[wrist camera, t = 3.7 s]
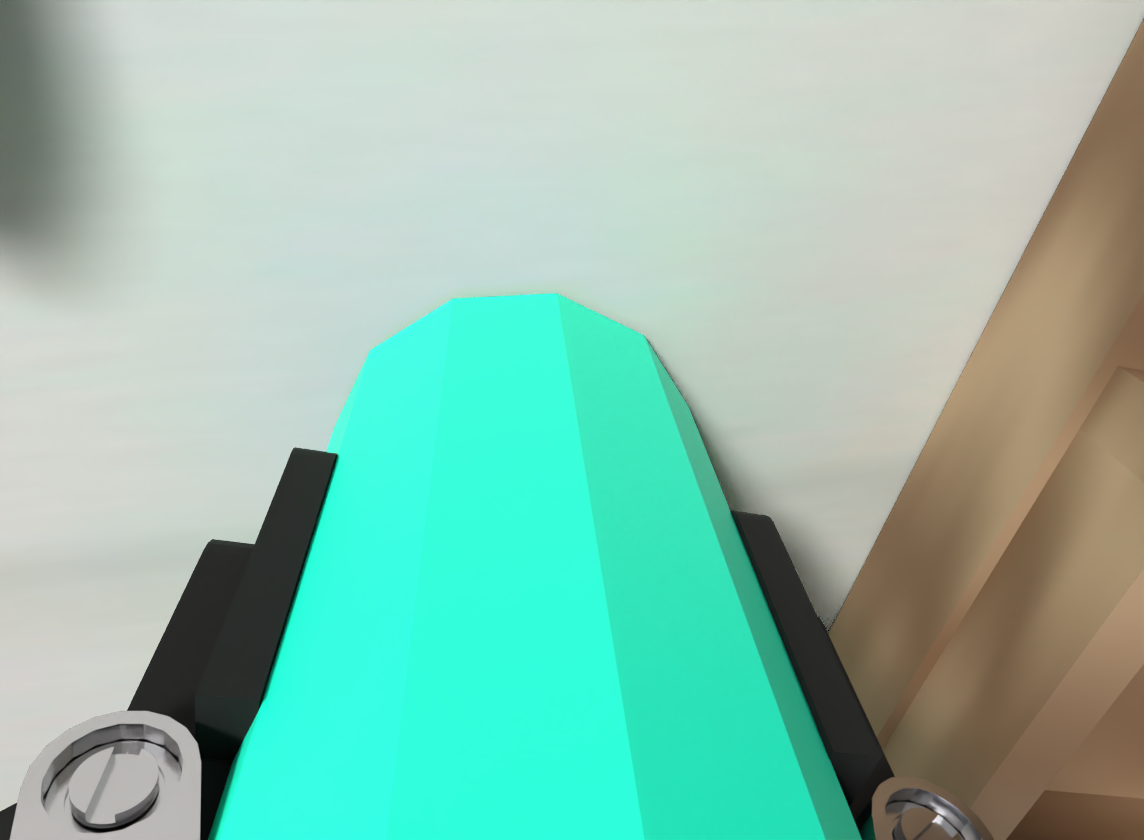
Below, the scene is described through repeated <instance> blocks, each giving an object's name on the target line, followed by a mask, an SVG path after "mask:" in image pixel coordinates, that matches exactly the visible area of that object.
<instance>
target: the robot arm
mask: <svg viewBox="0 0 1144 840" xmlns="http://www.w3.org/2000/svg"><path fill="white" fill-rule="evenodd" d="M336 458H337V454H336V453H329V452H322V451H316V450H309V449H302V448H293V450H292V452H291V455H290V457H289V460H288V462H287V465H286V467H285V470H284V472H283V475H282V477H281V480H280V482H279V485H278V487H277V490H276V492H275V495H274V497H273V500H272V502H271V505H270V507H269V510H268V512H267V515H266V517H265V520H264V522H263V525H262V528H261V530H260V533H259V535H258V538H257V540H256V543H255V544H247V543H239V542H230V541H222V540H214V539H212V540H211V541H210V542H208V544H207V545H206V547H205V549H204V551H203V552H202V555H201V557H200V559H199V561H198V563H197V565H196V567H195V569H194V571H193V573H192V576H191V578H190V580H189V582H188V584H187V586H186V588H185V590H184V592H183V594H182V596H181V599H180V601H179V603H178V605H177V607H176V609H175V611H174V613H173V615H172V617H171V620H170V622H169V624H168V626H167V628H166V630H165V632H164V634H163V636H162V638H161V641H160V643H159V645H158V647H157V649H156V651H155V653H154V655H153V657H152V659H151V662H150V664H149V666H148V668H147V670H146V672H145V674H144V676H143V678H142V680H141V683H140V685H139V687H138V689H137V691H136V693H135V695H134V697H133V699H132V701H131V704H130V706H129V708H128V710H127V711H119V712H115V713H110V714H106V715H102V716H97V717H94V718H92V719H89V720H87V721H85V722H83V723H81V724H79V725H76V726H74V727H72V728H70V729H68V730H67V731H65V732H64V733H63V734H61V735H60V736H59V737H57V738H56V739H55V740H53V741H52V742H51V743H49V744H48V745H47V746H46V747H45V748H44V749H43V751H42V752H41V753H40V754H39V755H38V757H37V758H36V759H35V760H34V761H33V763H32V764H31V765H30V766H29V769H28V771H27V774H26V776H25V779H24V781H23V783H22V786H21V788H20V793H19V797H18V802H17V803H16V804H14V805H12V806H10V807H8V808H6V809H4V810H2V811H0V840H208V838H209V834H210V831H211V828H212V825H213V822H214V819H215V816H216V813H217V810H218V806H219V803H220V800H221V797H222V794H223V791H224V788H225V785H226V781H227V778H228V775H229V772H230V769H231V766H232V763H233V760H234V758H235V756H236V754H237V752H238V750H239V748H240V746H241V744H242V742H243V740H244V738H245V736H246V734H247V733H248V731H249V729H250V727H251V725H252V723H253V721H254V719H255V717H256V715H257V713H258V711H259V708H260V704H261V701H262V698H263V695H264V691H265V688H266V684H267V681H268V678H269V675H270V672H271V669H272V666H273V663H274V660H275V656H276V653H277V650H278V647H279V643H280V640H281V637H282V634H283V630H284V627H285V624H286V621H287V617H288V614H289V611H290V608H291V604H292V601H293V598H294V595H295V591H296V588H297V585H298V582H299V578H300V575H301V572H302V569H303V565H304V562H305V559H306V556H307V553H308V549H309V546H310V543H311V540H312V536H313V533H314V530H315V527H316V523H317V520H318V517H319V514H320V510H321V507H322V504H323V501H324V497H325V494H326V491H327V488H328V484H329V481H330V478H331V475H332V471H333V468H334V463H335V461H336ZM730 512H731V514H732V517H733V519H734V521H735V524H736V526H737V529H738V531H739V534H740V536H741V539H742V541H743V544H744V546H745V549H746V551H747V554H748V556H749V559H750V561H751V564H752V566H753V569H754V571H755V574H756V576H757V579H758V581H759V584H760V586H761V589H762V591H763V594H764V596H765V599H766V601H767V604H768V606H769V609H770V611H771V614H772V616H773V619H774V621H775V624H776V626H777V629H778V631H779V634H780V636H781V639H782V641H783V644H784V646H785V649H786V651H787V654H788V656H789V659H790V661H791V664H792V666H793V669H794V671H795V674H796V676H797V679H798V681H799V684H800V686H801V689H802V691H803V694H804V696H805V699H806V701H807V704H808V706H809V709H810V711H811V714H812V716H813V719H814V721H815V724H816V726H817V729H818V732H819V734H820V737H821V739H822V742H823V744H824V747H825V749H826V752H827V754H828V757H829V759H830V761H831V763H832V766H833V768H834V771H835V773H836V776H837V778H838V781H839V783H840V786H841V788H842V791H843V793H844V796H845V798H846V801H847V803H848V806H849V808H850V811H851V813H852V816H853V818H854V821H855V823H856V826H857V828H858V831H859V833H860V836H861V838H862V840H994V838H993V836H992V835H991V833H990V832H989V830H988V829H987V828H986V826H985V825H984V823H983V822H982V821H981V819H980V818H979V817H978V816H977V815H976V814H975V813H974V812H973V811H972V810H971V809H970V808H969V807H968V806H967V805H966V804H965V803H964V802H963V801H962V800H960V799H959V798H957V797H956V796H954V795H953V794H951V793H950V792H948V791H947V790H946V789H944V788H942V787H940V786H938V785H935V784H933V783H931V782H929V781H926V780H924V779H919V778H914V777H909V776H901V777H895V776H894V773H893V771H892V769H891V767H890V765H889V763H888V761H887V759H886V756H885V754H884V752H883V750H882V748H881V746H880V744H879V741H878V739H877V737H876V735H875V733H874V731H873V729H872V726H871V724H870V722H869V720H868V718H867V716H866V714H865V711H864V709H863V707H862V705H861V703H860V701H859V699H858V697H857V694H856V692H855V690H854V688H853V686H852V684H851V682H850V679H849V677H848V675H847V673H846V671H845V669H844V667H843V664H842V662H841V660H840V658H839V656H838V654H837V652H836V650H835V647H834V645H833V643H832V641H831V639H830V637H829V635H828V632H827V630H826V628H825V626H824V624H823V623H822V621H821V620H820V618H819V617H818V616H817V615H816V613H815V611H814V609H813V607H812V604H811V602H810V600H809V598H808V596H807V594H806V592H805V589H804V587H803V585H802V583H801V581H800V579H799V576H798V574H797V572H796V570H795V568H794V566H793V563H792V561H791V559H790V557H789V555H788V553H787V551H786V548H785V546H784V544H783V542H782V540H781V538H780V535H779V533H778V531H777V529H776V527H775V525H774V523H773V521H772V519H771V518H770V517H768V516H765V515H758V514H751V513H744V512H737V511H730Z"/></svg>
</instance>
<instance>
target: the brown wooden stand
mask: <svg viewBox="0 0 1144 840" xmlns="http://www.w3.org/2000/svg"><path fill="white" fill-rule="evenodd" d="M828 635H829V637H830V639H831V641H832V643H833V645H834V647H835V650H836V652H837V654H838V656H839V658H840V660H841V662H842V664H843V667H844V669H845V671H846V673H847V675H848V677H849V679H850V682H851V684H852V686H853V688H854V690H855V692H856V694H857V697H858V699H859V701H860V703H861V705H862V707H863V709H864V711H865V714H866V716H867V718H868V720H869V722H870V724H871V726H872V729H873V731H874V733H875V735H876V737H877V739H878V741H879V744H880V746H881V748H882V750H883V752H884V754H885V756H886V759H887V761H888V763H889V765H890V767H891V769H892V771H893V773H894V776H895V777H901V776H909V777H914V778H919V779H924V780H926V781H929V782H931V783H933V784H935V785H938V786H940V787H942V788H944V789H946V790H947V791H948V792H950V793H951V794H953V795H954V796H956V797H957V798H959V799H960V800H962V801H963V802H964V803H965V804H966V805H967V806H968V807H969V808H970V809H971V810H972V811H973V812H974V813H975V814H976V815H977V816H978V817H979V818H980V819H981V821H982V822H983V823H984V825H985V826H986V828H987V829H988V830H989V832H990V833H991V835H992V836H993V838H994V840H1144V19H1143V21H1142V23H1141V25H1140V27H1139V29H1138V31H1137V33H1136V35H1135V37H1134V39H1133V41H1132V43H1131V45H1130V47H1129V48H1128V50H1127V52H1126V54H1125V56H1124V58H1123V60H1122V62H1121V64H1120V66H1119V68H1118V70H1117V72H1116V74H1115V76H1114V78H1113V80H1112V82H1111V84H1110V86H1109V87H1108V89H1107V91H1106V93H1105V95H1104V97H1103V99H1102V101H1101V103H1100V105H1099V107H1098V109H1097V111H1096V113H1095V115H1094V117H1093V119H1092V121H1091V123H1090V124H1089V126H1088V128H1087V130H1086V132H1085V134H1084V136H1083V138H1082V140H1081V142H1080V144H1079V146H1078V148H1077V150H1076V152H1075V154H1074V156H1073V158H1072V160H1071V162H1070V163H1069V165H1068V167H1067V169H1066V171H1065V173H1064V175H1063V177H1062V179H1061V181H1060V183H1059V185H1058V187H1057V189H1056V191H1055V193H1054V195H1053V197H1052V199H1051V201H1050V202H1049V204H1048V206H1047V208H1046V210H1045V212H1044V214H1043V216H1042V218H1041V220H1040V222H1039V224H1038V226H1037V228H1036V230H1035V232H1034V234H1033V236H1032V238H1031V240H1030V241H1029V243H1028V245H1027V247H1026V249H1025V251H1024V253H1023V255H1022V257H1021V259H1020V261H1019V263H1018V265H1017V267H1016V269H1015V271H1014V273H1013V275H1012V277H1011V279H1010V280H1009V282H1008V284H1007V286H1006V288H1005V290H1004V292H1003V294H1002V296H1001V298H1000V300H999V302H998V304H997V306H996V308H995V310H994V312H993V314H992V316H991V318H990V319H989V321H988V323H987V325H986V327H985V329H984V331H983V333H982V335H981V337H980V339H979V341H978V343H977V345H976V347H975V349H974V351H973V353H972V355H971V357H970V358H969V360H968V362H967V364H966V366H965V368H964V370H963V372H962V374H961V376H960V378H959V380H958V382H957V384H956V386H955V388H954V390H953V392H952V394H951V396H950V397H949V399H948V401H947V403H946V405H945V407H944V409H943V411H942V413H941V415H940V417H939V419H938V421H937V423H936V425H935V427H934V429H933V431H932V433H931V434H930V436H929V438H928V440H927V442H926V444H925V446H924V448H923V450H922V452H921V454H920V456H919V458H918V460H917V462H916V464H915V466H914V468H913V470H912V472H911V473H910V475H909V477H908V479H907V481H906V483H905V485H904V487H903V489H902V491H901V493H900V495H899V497H898V499H897V501H896V503H895V505H894V507H893V509H892V511H891V512H890V514H889V516H888V518H887V520H886V522H885V524H884V526H883V528H882V530H881V532H880V534H879V536H878V538H877V540H876V542H875V544H874V546H873V548H872V550H871V551H870V553H869V555H868V557H867V559H866V561H865V563H864V565H863V567H862V569H861V571H860V573H859V575H858V577H857V579H856V581H855V583H854V585H853V587H852V589H851V590H850V592H849V594H848V596H847V598H846V600H845V602H844V604H843V606H842V608H841V610H840V612H839V614H838V616H837V618H836V620H835V622H834V624H833V626H832V628H831V629H830V631H829V633H828Z"/></svg>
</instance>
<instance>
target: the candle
mask: <svg viewBox="0 0 1144 840" xmlns="http://www.w3.org/2000/svg"><path fill="white" fill-rule="evenodd" d="M326 452H329V453H336V454H337V458H336V461H335V463H334V468H333V471H332V475H331V478H330V481H329V484H328V488H327V491H326V494H325V497H324V501H323V504H322V507H321V510H320V514H319V517H318V520H317V523H316V527H315V530H314V533H313V536H312V540H311V543H310V546H309V549H308V553H307V556H306V559H305V562H304V565H303V569H302V572H301V575H300V578H299V582H298V585H297V588H296V591H295V595H294V598H293V601H292V604H291V608H290V611H289V614H288V617H287V621H286V624H285V627H284V630H283V634H282V637H281V640H280V643H279V647H278V650H277V653H276V656H275V660H274V663H273V666H272V669H271V672H270V675H269V678H268V681H267V684H266V688H265V691H264V695H263V698H262V701H261V704H260V708H259V711H258V713H257V715H256V717H255V719H254V721H253V723H252V725H251V727H250V729H249V731H248V733H247V734H246V736H245V738H244V740H243V742H242V744H241V746H240V748H239V750H238V752H237V754H236V756H235V758H234V760H233V763H232V766H231V769H230V772H229V775H228V778H227V781H226V785H225V788H224V791H223V794H222V797H221V800H220V803H219V806H218V810H217V813H216V816H215V819H214V822H213V825H212V828H211V831H210V834H209V838H208V840H862V838H861V836H860V833H859V831H858V828H857V826H856V823H855V821H854V818H853V816H852V813H851V811H850V808H849V806H848V803H847V801H846V798H845V796H844V793H843V791H842V788H841V786H840V783H839V781H838V778H837V776H836V773H835V771H834V768H833V766H832V763H831V761H830V759H829V757H828V754H827V752H826V749H825V747H824V744H823V742H822V739H821V737H820V734H819V732H818V729H817V726H816V724H815V721H814V719H813V716H812V714H811V711H810V709H809V706H808V704H807V701H806V699H805V696H804V694H803V691H802V689H801V686H800V684H799V681H798V679H797V676H796V674H795V671H794V669H793V666H792V664H791V661H790V659H789V656H788V654H787V651H786V649H785V646H784V644H783V641H782V639H781V636H780V634H779V631H778V629H777V626H776V624H775V621H774V619H773V616H772V614H771V611H770V609H769V606H768V604H767V601H766V599H765V596H764V594H763V591H762V589H761V586H760V584H759V581H758V579H757V576H756V574H755V571H754V569H753V566H752V564H751V561H750V559H749V556H748V554H747V551H746V549H745V546H744V544H743V541H742V539H741V536H740V534H739V531H738V529H737V526H736V524H735V521H734V519H733V517H732V514H731V512H730V509H729V506H728V504H727V501H726V499H725V496H724V494H723V491H722V489H721V486H720V484H719V481H718V479H717V476H716V474H715V471H714V469H713V466H712V464H711V461H710V459H709V456H708V454H707V451H706V449H705V446H704V444H703V441H702V439H701V436H700V434H699V431H698V429H697V426H696V424H695V421H694V419H693V416H692V414H691V411H690V409H689V406H688V405H687V403H686V402H685V400H684V398H683V397H682V395H681V394H680V392H679V390H678V389H677V387H676V386H675V384H674V383H673V381H672V379H671V378H670V376H669V375H668V373H667V371H666V370H665V368H664V367H663V365H662V363H661V362H660V360H659V359H658V357H657V355H656V354H655V352H654V351H653V349H652V347H651V346H650V344H649V343H648V341H647V339H646V338H645V336H644V335H642V334H640V333H638V332H636V331H634V330H632V329H630V328H628V327H626V326H623V325H621V324H619V323H617V322H615V321H613V320H611V319H609V318H607V317H605V316H603V315H601V314H599V313H596V312H594V311H592V310H590V309H588V308H586V307H584V306H582V305H580V304H578V303H576V302H574V301H572V300H570V299H567V298H565V297H563V296H561V295H559V294H557V293H553V294H534V295H514V296H495V297H475V298H455V299H452V300H450V301H449V302H447V303H445V304H444V305H442V306H441V307H439V308H437V309H436V310H434V311H433V312H431V313H429V314H428V315H426V316H425V317H423V318H421V319H420V320H418V321H416V322H415V323H413V324H412V325H410V326H408V327H407V328H405V329H404V330H402V331H400V332H399V333H397V334H396V335H394V336H392V337H391V338H389V339H388V340H386V341H384V342H383V343H381V344H380V345H378V346H376V347H375V348H373V349H372V350H370V352H369V354H368V356H367V358H366V361H365V363H364V365H363V367H362V369H361V371H360V374H359V376H358V378H357V380H356V382H355V384H354V386H353V389H352V391H351V393H350V395H349V397H348V399H347V402H346V404H345V406H344V408H343V410H342V412H341V414H340V417H339V419H338V421H337V423H336V425H335V427H334V430H333V433H332V436H331V439H330V442H329V445H328V448H327V451H326Z"/></svg>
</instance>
